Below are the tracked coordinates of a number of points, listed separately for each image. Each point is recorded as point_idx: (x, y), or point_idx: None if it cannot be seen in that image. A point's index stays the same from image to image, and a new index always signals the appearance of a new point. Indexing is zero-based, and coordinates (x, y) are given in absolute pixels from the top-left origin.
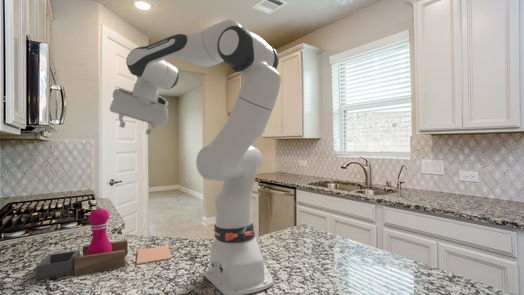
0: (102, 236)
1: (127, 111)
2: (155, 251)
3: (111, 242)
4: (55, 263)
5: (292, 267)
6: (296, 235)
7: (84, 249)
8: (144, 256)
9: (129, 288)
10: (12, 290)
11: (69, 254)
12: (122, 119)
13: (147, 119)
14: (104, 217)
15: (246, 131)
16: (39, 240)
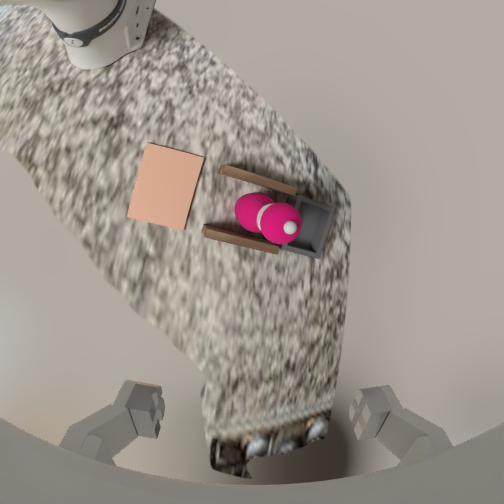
0: (263, 204)
1: (436, 479)
2: (158, 197)
3: (233, 240)
4: (316, 201)
5: None
6: None
7: (275, 245)
8: (183, 183)
9: (236, 80)
10: (345, 190)
11: (293, 246)
12: (409, 420)
13: (158, 485)
14: (273, 204)
15: None
16: (302, 390)
